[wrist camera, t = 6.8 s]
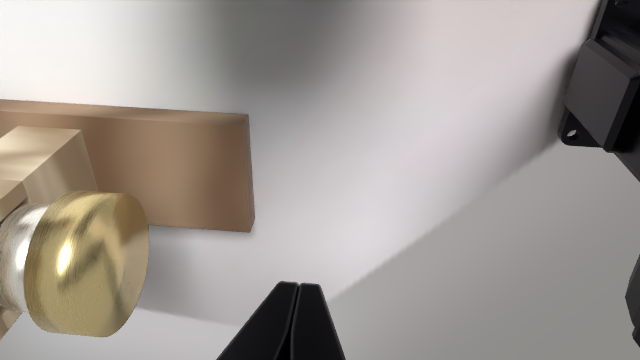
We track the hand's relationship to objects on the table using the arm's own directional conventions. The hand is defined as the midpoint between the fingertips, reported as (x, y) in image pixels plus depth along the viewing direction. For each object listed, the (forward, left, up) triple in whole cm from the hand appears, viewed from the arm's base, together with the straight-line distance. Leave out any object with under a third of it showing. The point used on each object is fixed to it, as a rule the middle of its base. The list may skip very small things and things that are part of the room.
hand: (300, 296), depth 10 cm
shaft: (+12, +5, -8) cm, 15 cm away
